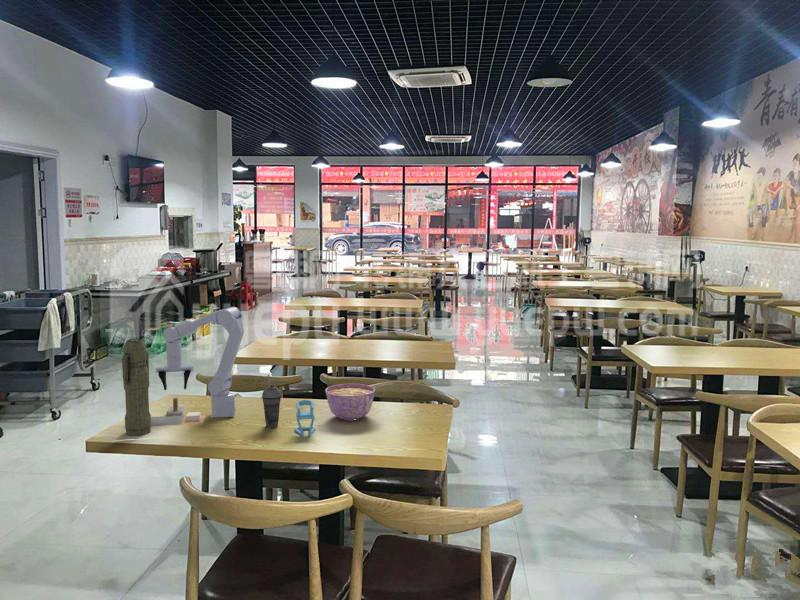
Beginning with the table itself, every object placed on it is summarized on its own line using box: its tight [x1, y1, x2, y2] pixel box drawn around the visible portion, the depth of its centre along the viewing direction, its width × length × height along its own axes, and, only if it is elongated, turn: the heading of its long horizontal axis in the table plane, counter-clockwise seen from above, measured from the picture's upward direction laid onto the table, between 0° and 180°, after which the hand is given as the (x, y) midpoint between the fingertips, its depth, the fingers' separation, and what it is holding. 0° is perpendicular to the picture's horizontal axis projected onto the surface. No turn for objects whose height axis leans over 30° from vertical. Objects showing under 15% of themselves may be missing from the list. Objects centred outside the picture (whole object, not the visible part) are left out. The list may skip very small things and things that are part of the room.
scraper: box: [166, 396, 186, 416], centre depth 266 cm, size 6×8×6 cm
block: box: [186, 411, 202, 421], centre depth 257 cm, size 5×5×2 cm
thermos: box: [121, 338, 152, 437], centre depth 238 cm, size 9×12×35 cm
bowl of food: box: [324, 383, 376, 421], centre depth 261 cm, size 20×20×12 cm
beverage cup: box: [261, 374, 282, 429], centre depth 249 cm, size 7×7×20 cm
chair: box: [294, 399, 316, 438], centre depth 242 cm, size 8×8×12 cm
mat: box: [151, 413, 206, 427], centre depth 255 cm, size 23×12×1 cm, turn 102°
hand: (175, 389), depth 266 cm, fingers open, 7 cm apart
